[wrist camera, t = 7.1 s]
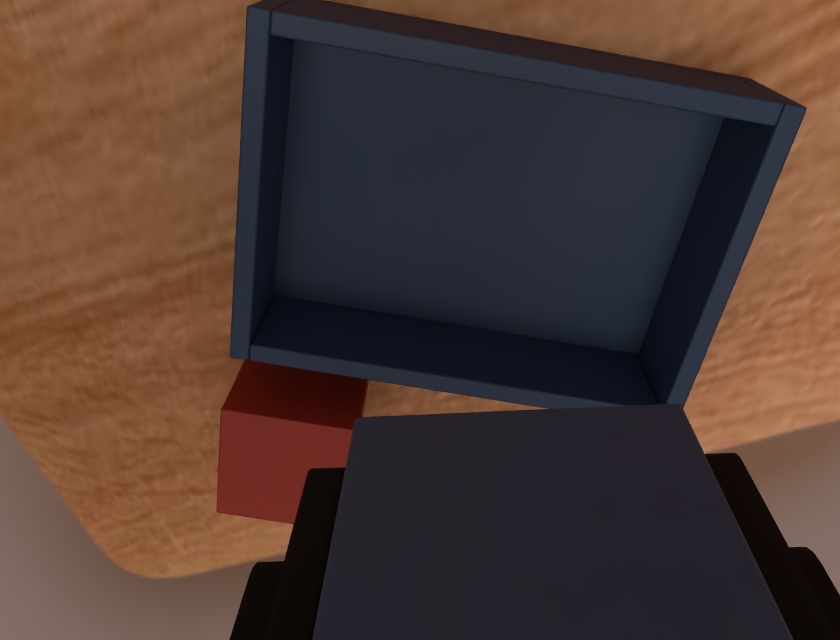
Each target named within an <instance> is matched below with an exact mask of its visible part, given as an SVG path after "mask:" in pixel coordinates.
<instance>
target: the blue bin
mask: <svg viewBox="0 0 840 640" xmlns="http://www.w3.org/2000/svg"><path fill="white" fill-rule="evenodd" d="M805 112H806V107H804V106H802V105H800V104H798V103H796V102H794V101H793V100H791V99H789V98H787V97H785V96H783V95H781V94H779V93H777V92H775V91H773V90H771V89H769V88H767V87H765V86H764V85H762V84H760V83H758V82H756V81H754V80H752V79H750V78H745V77H739V76H734V75H728V74H723V73H717V72H712V71H706V70H701V69H696V68H690V67H685V66H679V65H674V64H668V63H663V62H657V61H652V60H646V59H641V58H636V57H630V56H625V55H619V54H614V53H608V52H603V51H597V50H592V49H587V48H581V47H576V46H570V45H565V44H559V43H554V42H548V41H543V40H537V39H532V38H527V37H521V36H516V35H510V34H505V33H499V32H494V31H488V30H483V29H478V28H472V27H467V26H461V25H456V24H450V23H445V22H439V21H434V20H428V19H423V18H418V17H412V16H407V15H401V14H396V13H390V12H385V11H379V10H374V9H369V8H363V7H358V6H352V5H347V4H341V3H336V2H330V1H325V0H262V1H260V2H257V3H255V4H252V5H250V6H248V7H247V17H246V37H245V58H244V78H243V99H242V119H241V139H240V160H239V180H238V200H237V221H236V241H235V262H234V282H233V302H232V323H231V343H230V357H232V358H237V359H244V360H248V359H250V360H251V361H256V362H262V363H268V364H275V365H281V366H287V367H293V368H299V369H306V370H312V371H318V372H324V373H330V374H337V375H343V376H349V377H355V378H362V379H368V380H374V381H380V382H386V383H393V384H399V385H405V386H411V387H417V388H424V389H430V390H436V391H442V392H448V393H455V394H461V395H467V396H473V397H479V398H486V399H492V400H498V401H504V402H510V403H517V404H523V405H529V406H535V407H542V408H548V409H564V408H586V407H609V406H632V405H655V404H680V405H681V406H682V408H684V405H685V403H686V400H687V398H688V396H689V393H690V391H691V388H692V386H693V383H694V381H695V379H696V376H697V374H698V371H699V369H700V367H701V364H702V362H703V359H704V357H705V354H706V352H707V350H708V347H709V345H710V342H711V340H712V337H713V335H714V333H715V330H716V328H717V325H718V323H719V320H720V318H721V316H722V313H723V311H724V308H725V306H726V304H727V301H728V299H729V296H730V294H731V291H732V289H733V287H734V284H735V282H736V279H737V277H738V274H739V272H740V270H741V267H742V265H743V262H744V260H745V258H746V255H747V253H748V250H749V248H750V245H751V243H752V241H753V238H754V236H755V233H756V231H757V228H758V226H759V224H760V221H761V219H762V216H763V214H764V212H765V209H766V207H767V204H768V202H769V199H770V197H771V195H772V192H773V190H774V187H775V185H776V182H777V180H778V178H779V175H780V173H781V170H782V168H783V166H784V163H785V161H786V158H787V156H788V153H789V151H790V149H791V146H792V144H793V141H794V139H795V136H796V134H797V132H798V129H799V127H800V124H801V122H802V120H803V117H804V115H805Z"/></svg>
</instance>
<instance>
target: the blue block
mask: <svg viewBox="0 0 840 640" xmlns="http://www.w3.org/2000/svg"><path fill="white" fill-rule="evenodd" d="M312 640H793V638H792V636H791V634H790V631H789V629H788V627H787V625H786V623H785V621H784V619H783V617H782V615H781V613H780V611H779V609H778V606H777V604H776V602H775V600H774V598H773V596H772V594H771V592H770V590H769V588H768V586H767V583H766V581H765V579H764V577H763V575H762V573H761V571H760V569H759V567H758V565H757V563H756V561H755V558H754V556H753V554H752V552H751V550H750V548H749V546H748V544H747V542H746V540H745V538H744V535H743V533H742V531H741V529H740V527H739V525H738V523H737V521H736V519H735V517H734V515H733V512H732V510H731V508H730V506H729V504H728V502H727V500H726V498H725V496H724V494H723V492H722V490H721V487H720V485H719V483H718V481H717V479H716V477H715V475H714V473H713V471H712V469H711V467H710V464H709V462H708V460H707V458H706V456H705V454H704V452H703V450H702V448H701V446H700V444H699V442H698V439H697V437H696V435H695V433H694V431H693V429H692V427H691V425H690V423H689V421H688V419H687V416H686V414H685V412H684V410H683V408H682V406H681V405H680V404H655V405H632V406H609V407H586V408H564V409H541V410H518V411H495V412H472V413H450V414H427V415H404V416H381V417H359V418H356V419H355V422H354V426H353V431H352V436H351V442H350V447H349V452H348V457H347V462H346V467H345V472H344V478H343V483H342V488H341V493H340V498H339V503H338V508H337V514H336V519H335V524H334V529H333V534H332V539H331V544H330V550H329V555H328V560H327V565H326V570H325V575H324V580H323V586H322V591H321V596H320V601H319V606H318V611H317V616H316V621H315V627H314V632H313V637H312Z"/></svg>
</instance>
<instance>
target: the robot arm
mask: <svg viewBox="0 0 840 640" xmlns="http://www.w3.org/2000/svg"><path fill="white" fill-rule="evenodd" d="M705 456H706V458H707V460H708V462H709V464H710V467H711V469H712V471H713V473H714V475H715V477H716V479H717V481H718V483H719V485H720V487H721V490H722V492H723V494H724V496H725V498H726V500H727V502H728V504H729V506H730V508H731V510H732V512H733V515H734V517H735V519H736V521H737V523H738V525H739V527H740V529H741V531H742V533H743V535H744V538H745V540H746V542H747V544H748V546H749V548H750V550H751V552H752V554H753V556H754V558H755V561H756V563H757V565H758V567H759V569H760V571H761V573H762V575H763V577H764V579H765V581H766V583H767V586H768V588H769V590H770V592H771V594H772V596H773V598H774V600H775V602H776V604H777V606H778V609H779V611H780V613H781V615H782V617H783V619H784V621H785V623H786V625H787V627H788V629H789V631H790V634H791V636H792V638H793V640H840V595H839V593H838V592H837V590H836V588H835V587H834V585H833V583H832V581H831V580H830V578H829V576H828V574H827V573H826V571H825V569H824V567H823V566H822V564H821V562H820V561H819V560H818V558H817V557H816V555H815V554H814V553H813V552H812V551H811V550H810V549H808V548H807V547H788V545H787V543H786V541H785V539H784V537H783V536H782V534H781V532H780V530H779V528H778V526H777V524H776V523H775V521H774V519H773V517H772V515H771V513H770V512H769V510H768V508H767V506H766V504H765V502H764V500H763V499H762V497H761V495H760V493H759V491H758V489H757V488H756V486H755V484H754V482H753V480H752V478H751V476H750V475H749V473H748V471H747V469H746V467H745V465H744V463H743V462H742V460H741V458H740V457H739V456H738V455H737V454H736V453H722V454H721V453H719V454H705ZM344 472H345V467H336V468H310V469H309V470H308V473H307V476H306V480H305V484H304V488H303V491H302V495H301V499H300V503H299V507H298V510H297V514H296V518H295V522H294V526H293V530H292V533H291V537H290V541H289V545H288V549H287V552H286V556H285V560H284V561H278V562H257V563H256V564H255V565H254V567H253V568H252V571H251V573H250V576H249V579H248V582H247V585H246V589H245V592H244V595H243V598H242V601H241V604H240V608H239V611H238V614H237V618H236V621H235V624H234V627H233V630H232V634H231V637H230V640H312V637H313V632H314V627H315V621H316V616H317V611H318V606H319V601H320V596H321V591H322V586H323V580H324V575H325V570H326V565H327V560H328V555H329V550H330V544H331V539H332V534H333V529H334V524H335V519H336V514H337V508H338V503H339V498H340V493H341V488H342V483H343V478H344Z"/></svg>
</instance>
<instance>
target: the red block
mask: <svg viewBox="0 0 840 640" xmlns="http://www.w3.org/2000/svg"><path fill="white" fill-rule="evenodd" d="M368 381H369V380H368V379H362V378H355V377H349V376H343V375H337V374H330V373H324V372H318V371H312V370H306V369H299V368H293V367H287V366H281V365H275V364H268V363H262V362H256V361H251V360H250V359H248V360H245V361H244V363H243V365H242V367H241V369H240V371H239V373H238V375H237V378H236V380H235V382H234V384H233V386H232V388H231V390H230V392H229V394H228V396H227V398H226V401H225V403H224V405H223V407H222V409H221V420H220V443H219V466H218V488H217V512H218V513H224V514H231V515H238V516H244V517H251V518H257V519H264V520H271V521H277V522H284V523H290V524H294V522H295V518H296V514H297V510H298V507H299V503H300V499H301V495H302V491H303V488H304V484H305V480H306V476H307V473H308V470H309V469H310V468H336V467H346V462H347V457H348V452H349V447H350V442H351V436H352V431H353V426H354V422H355V419H356V418H359V417H363V413H364V407H365V400H366V394H367V388H368Z"/></svg>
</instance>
